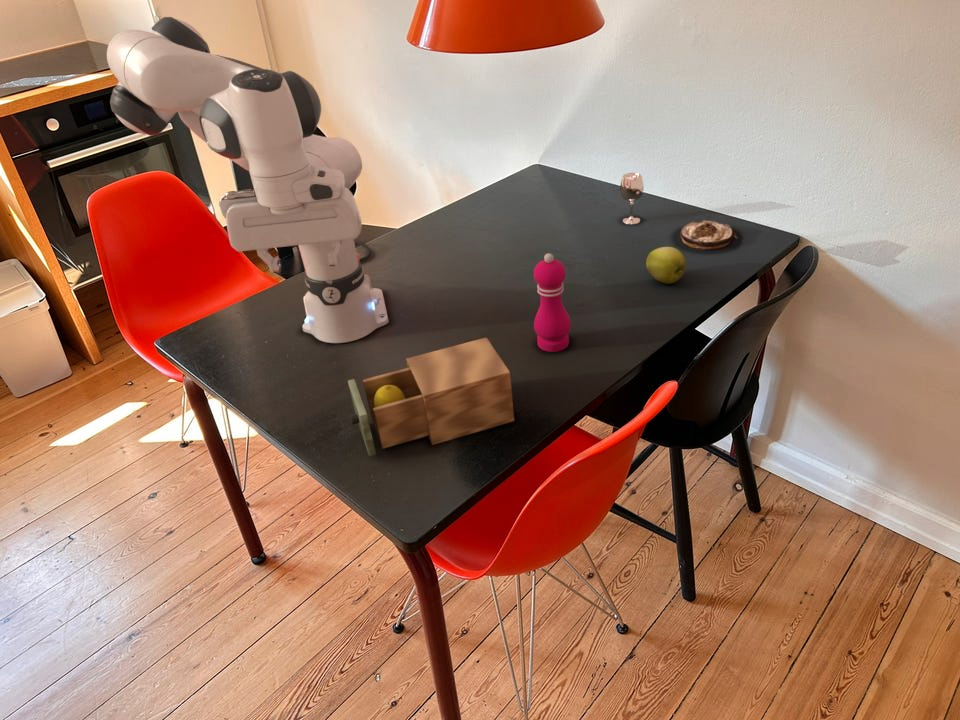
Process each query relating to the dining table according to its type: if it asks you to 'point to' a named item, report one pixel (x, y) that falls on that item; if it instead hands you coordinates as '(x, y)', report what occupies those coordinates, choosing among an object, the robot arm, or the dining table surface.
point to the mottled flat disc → (707, 235)
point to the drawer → (391, 411)
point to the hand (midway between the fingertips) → (305, 267)
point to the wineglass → (631, 192)
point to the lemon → (388, 395)
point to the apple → (666, 264)
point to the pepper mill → (551, 306)
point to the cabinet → (463, 389)
